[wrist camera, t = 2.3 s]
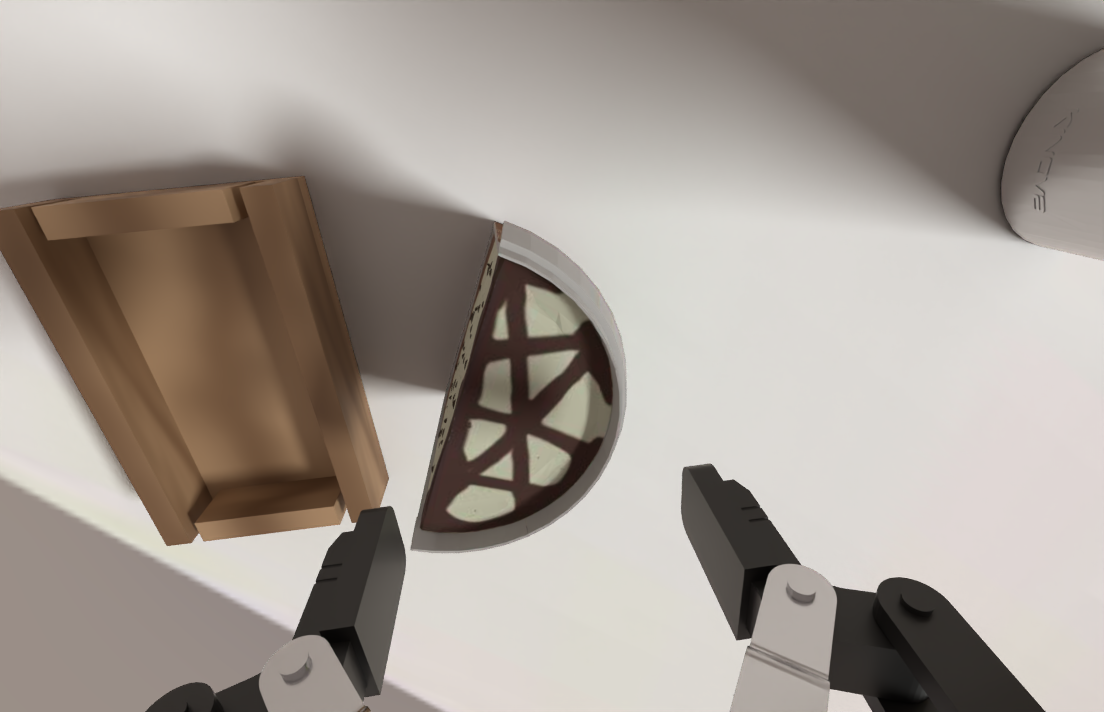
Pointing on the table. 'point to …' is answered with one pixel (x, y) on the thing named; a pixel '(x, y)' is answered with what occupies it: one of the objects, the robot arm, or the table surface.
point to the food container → (523, 401)
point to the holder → (207, 351)
